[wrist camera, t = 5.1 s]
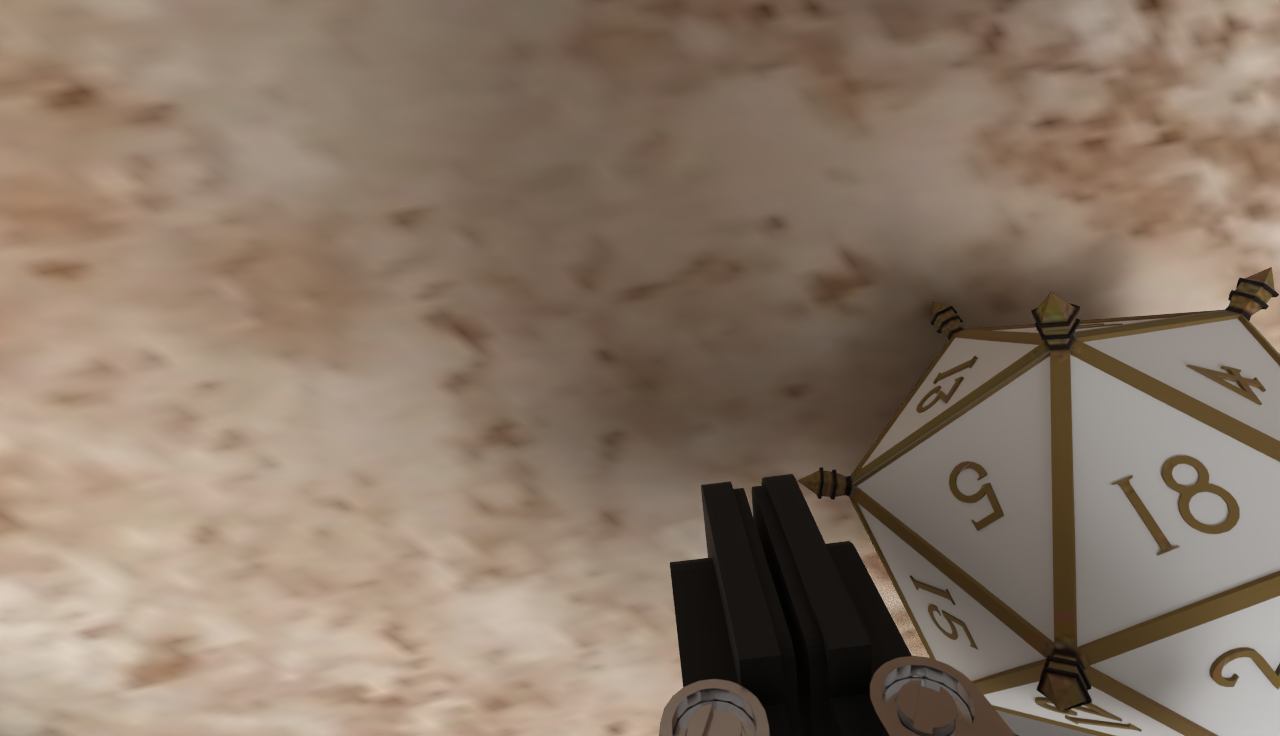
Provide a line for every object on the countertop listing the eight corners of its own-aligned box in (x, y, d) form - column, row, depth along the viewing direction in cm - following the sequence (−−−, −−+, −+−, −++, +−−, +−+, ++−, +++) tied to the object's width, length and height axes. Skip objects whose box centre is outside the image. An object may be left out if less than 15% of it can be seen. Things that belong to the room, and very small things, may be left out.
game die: (930, 285, 18) (1506, 67, 9) (1069, 564, 18) (1795, 646, 9) (664, 434, 14) (1149, 339, 5) (838, 779, 14) (1631, 1304, 5)
